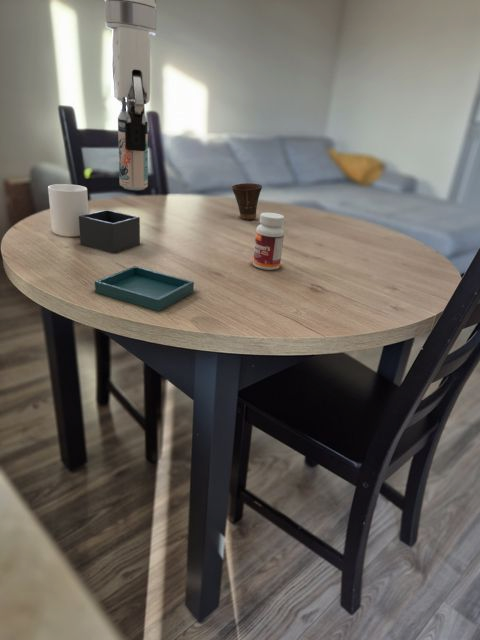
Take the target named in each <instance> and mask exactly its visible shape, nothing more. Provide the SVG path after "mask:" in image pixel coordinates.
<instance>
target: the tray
mask: <svg viewBox="0 0 480 640" xmlns="http://www.w3.org/2000/svg"><path fill="white" fill-rule="evenodd" d="M194 287H195V281H192V280H189V279H184V278H180V277H177V276H174V275H169V274H166V273H163V272H159V271H155V270H151V269H148V268H144V267H141V266H137V265H134V266H131V267H128V268H126V269H123V270H121V271H118V272H116V273H113V274H110V275H108V276H105V277H103V278H100V279H98V280H95V281H94V293H96V294H100V295H102V296H106V297H110V298H112V299H116V300H120V301H123V302H126V303H129V304H133V305H136V306H140V307H143V308H146V309H150V310H153V311H156V312H160V311H162V310H164V309H165V308H168V307H169V306H171V305H172V304H175V303H176V302H178V301H180V300H181V299H183V298H185V297H187V296H189V295H190V294H193V293H194Z"/></svg>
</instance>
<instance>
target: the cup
mask: <svg viewBox="0 0 480 640" xmlns="http://www.w3.org/2000/svg"><path fill="white" fill-rule="evenodd" d="M262 189H263V185H261V184H258V183H248V182H247V183H244V182H243V183H238V184H234V185H232V186H231V190H232V192H233V194H234V197H235V200H236V204H237V206H238V210H239V216H240V219H241V220H244V221H245V220H255V219H256V218H257V209H258V202H259V198H260V196H261V195H260V194H261V192H262Z"/></svg>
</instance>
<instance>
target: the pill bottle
mask: <svg viewBox="0 0 480 640" xmlns="http://www.w3.org/2000/svg"><path fill="white" fill-rule="evenodd" d="M259 223H260V224H258V226H256V230H255V238H254V248H253V256H252V265H253V266H254V267H256V268H257V269H261V270H266V271H273V270H277V269H279V268H280V266H281V260H282V255H283V246H284V239H285V229H284V228H283V226H284V225H285V216H284V215H283V214H279V213H276V212H261V213H260V215H259Z"/></svg>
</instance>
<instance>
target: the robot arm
mask: <svg viewBox="0 0 480 640" xmlns="http://www.w3.org/2000/svg"><path fill="white" fill-rule="evenodd" d="M104 16H105V17H104V18H105V28H106V29H108V30H112V31H111V32H112V33H111V97H112V99H113V100H114V101H116V102H120V112H126V115H127V123H125V147H126V149H127V150H133V151H145V150H146V125H145V116H146V110H145V107H146V106H145V105H147V104H148V103H150V98H151V44H150V43H151V42H150V41H151V40H150V36H156V35H157V0H104Z"/></svg>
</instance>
